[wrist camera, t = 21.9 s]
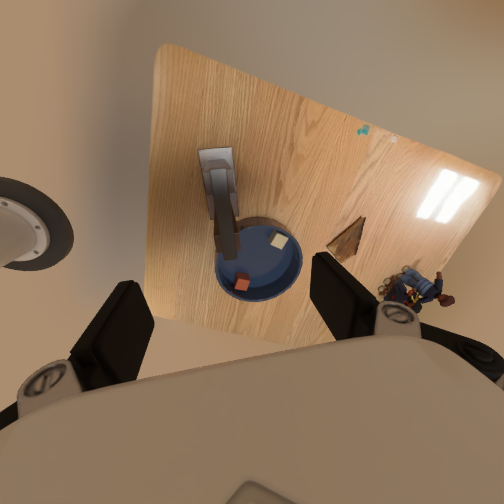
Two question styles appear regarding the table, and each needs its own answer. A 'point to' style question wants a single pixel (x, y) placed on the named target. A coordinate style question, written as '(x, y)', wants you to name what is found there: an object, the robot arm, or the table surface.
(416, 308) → the doll family
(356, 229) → the shard
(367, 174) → the table surface
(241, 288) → the terracotta block
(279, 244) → the cream block
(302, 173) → the table surface
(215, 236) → the stick stand
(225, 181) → the stirring stick
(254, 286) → the bowl
